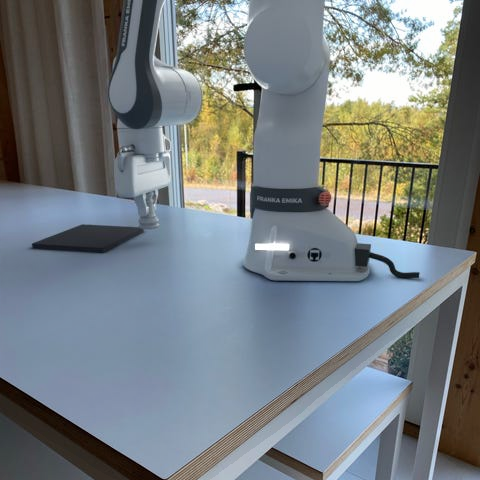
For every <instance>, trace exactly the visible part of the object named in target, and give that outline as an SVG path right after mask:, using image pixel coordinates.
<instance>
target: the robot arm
mask: <svg viewBox="0 0 480 480" xmlns="http://www.w3.org/2000/svg"><path fill="white" fill-rule="evenodd" d="M166 1H167V0H123V2H122V3H123V5H122V12H121V21H120V27H119V34H118V42H117V49H116V55H115V57H114V59H113V62H112V70H111V74H110V77H109V81H108V85H107V97H108V101H109V105H110V108H111V109H112V112H113V113H114V115H115V116H116V118H117V123H116V131H117V139H118V152H117V154H116V157H115V158H114V164H113V166H114V167H113V168H114V169H113V175H114V176H113V177H114V188H115V194H116V195H117V197H118V198H121V199H123V198H124V199H125V198H126V199H128V198H129V199H130V198H131V199H133V201H134V204H135V205H136V208H137V211H138V212H137V215H138V216H139V217H140V216H147V215H149V206H147V205H146V201H145V199H146V193H148V192H151V191H152V192H153V193H154V194H153V196H152V200H153V208H154V212H155V213H156V212H157V211H158V208H157V207H158V205H157V202H158V197H159V190H160V189H164V188H166V187H169V186H170V184H171V182H172V181H171V180H172V164H171V163H172V161H171V155H170V152H171V151H172V141H171V140H170V139H169V138H168V137H166V135H165V134H164V129H163V127H170V126H183V125H186V124H187V125H188V124H190V123H192V122H194V121H195V120H196V119H197V117H198V116H199V115H200V112H201V110H202V105H203V90H202V87H201V83H200V82H199V80H198V77H196V75H194V73H192V72H190V71H189V70H186V69H182V68H179V67H176V66H173V65H171V64H168V63H166V62H164V61H162V60H160V59H159V58H158V57H156V54H155V52H156V46H157V40H158V39H157V38H158V33H159V27H160V20H161V15H162V10H163V7H164V5H165V3H166ZM325 6H326V0H249V2H248V12H247V27H246V32H245V33H244V34H245V35H244V40H243V57H244V60H245V63H246V67H247V70H248V71H249V73H250V75H251V77H252V78H253V80H254V81H255V82H256V83H257V84H258V85H259V86H260V87H261V93H260V95H261V96H260V104H259V110H258V117H257V122H256V127H255V130H254V134H253V176H252V177H253V179H252V181H253V183H252V185H250V192H249V213H250V215H249V216H250V219H251V224H250V231H249V238H248V244H247V247H246V248H247V249H246V253H245V257H244V259H243V262H242V265H243V267H244V268H245V269H247V270H248V271H250V272H253V273H256V274H259V275H262V276H263V277H265V279H266V278H267V279H268V280H270V281H280V282H281V281H290V282H291V281H293V282H295V281H298V282H360V281H363V280H366V279H367V278H368V276H369V275H370V273H371V271H370V270H371V268H370V267H371V266H370V265H371V264H370V260H371V259H372V260H375V261H378V262H382V263H383V264H385V265H386V266H387V267H388V269H389V272H390V273H391V274H392V276H394V277H397V278H399V279H420V275H421V274H420V273H421V272H419V271H409V272H402V271H399V270H398V269H396V266H395V263H394V262H393V260H391V259H390V258H389V257H386V256H384V255H382V254H378V253H375V252H373V251H371V249H372V244H370V243H361V242H360V243H359V242H358V239H357V236H356V233H355V232H354V230H353V229H352V228H351V227H350V226H348V224H346V223H345V222H344V221H343V220H342V219H341V218H339V217H338V216H337V215H336V214H334V213H333V212H332V211H331V210H330V209H329V206H330V203H331V201H332V194H331V193H330V191H329V190H328V189H326V188H325V187H322V186H321V185H319V178H320V163H321V147H322V135H323V134H322V133H323V127H324V121H325V120H324V118H325V111H326V103H327V101H326V100H327V94H328V84H329V75H330V67H331V66H330V63H331V49H330V46H329V42H328V40H327V38H326V37H325V35H324V34H325V33H324V21H325V20H324V19H325Z"/></svg>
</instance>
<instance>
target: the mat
mask: <svg viewBox="0 0 480 480" xmlns="http://www.w3.org/2000/svg"><path fill="white" fill-rule="evenodd" d="M144 230H145V229H140V228H139V226H125V225H124V226H122V225H104V224H103V225H102V224H85V223H84V224H79V225H77V226H74V227H71V228H69V229H66V230H63V231H61V232H58V233H56V234H53V235H51V236H48V237H46V238H42V239H40V240H37V241H34V242H32V243H31V248H32V249H40V250H56V251H68V252H88V253H101V254H104V253H106V252H108V251H110V250H112V249H113V248H115V247H118V246H119V245H121V244H123V243H126V242H128V240H130V239H132V238H134V237H136V236H138V235H140V234H142V233H144Z"/></svg>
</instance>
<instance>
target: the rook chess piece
mask: <svg viewBox="0 0 480 480" xmlns="http://www.w3.org/2000/svg"><path fill="white" fill-rule="evenodd" d="M153 194H154V193H153V192H152V191H151V192H148V193H146V199H145V201H146V205H147V206H149V215H147V216H139V219H138V227H139V228H140V229H144V230H155V229H158V228H159V227H160V223H159V221H160V220H159V218H158V217H157V215H156V212H154V208H153V200H152V196H153Z"/></svg>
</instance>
